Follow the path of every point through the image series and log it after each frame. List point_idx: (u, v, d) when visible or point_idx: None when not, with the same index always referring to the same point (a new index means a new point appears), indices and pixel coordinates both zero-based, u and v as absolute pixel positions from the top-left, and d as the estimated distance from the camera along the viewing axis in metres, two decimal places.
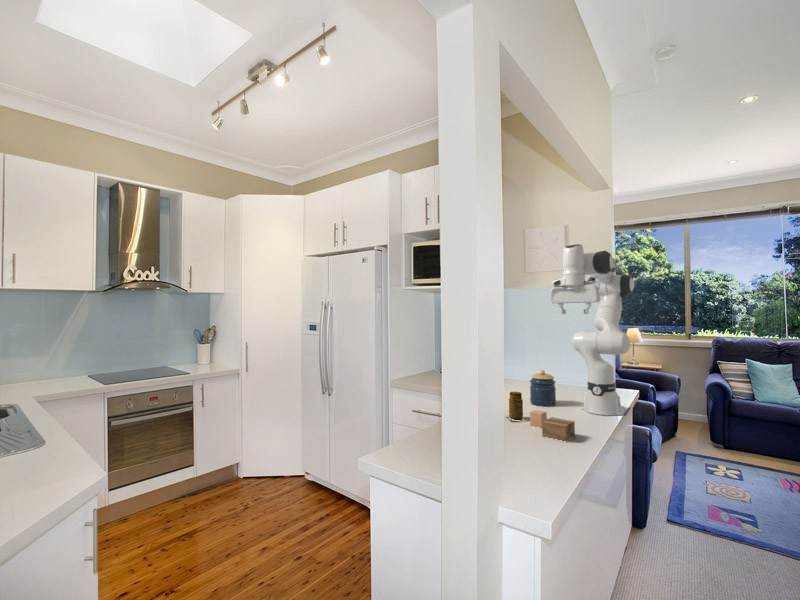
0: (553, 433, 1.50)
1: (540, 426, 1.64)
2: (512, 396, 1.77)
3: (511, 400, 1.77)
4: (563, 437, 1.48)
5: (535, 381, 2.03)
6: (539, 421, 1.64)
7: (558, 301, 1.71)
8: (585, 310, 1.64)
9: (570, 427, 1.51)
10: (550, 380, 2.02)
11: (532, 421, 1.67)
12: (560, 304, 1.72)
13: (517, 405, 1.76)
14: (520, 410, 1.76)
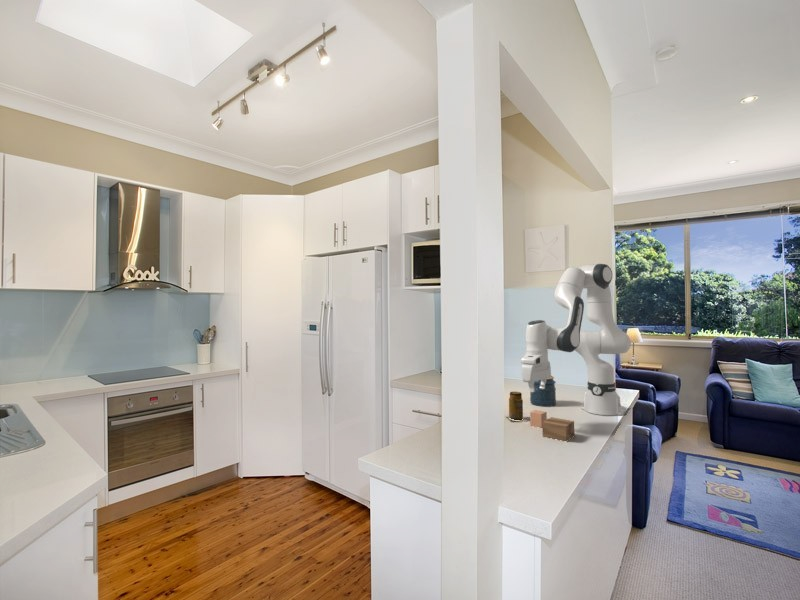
0: (553, 433, 1.50)
1: (540, 426, 1.64)
2: (512, 396, 1.77)
3: (511, 400, 1.77)
4: (563, 437, 1.47)
5: (535, 381, 2.03)
6: (539, 421, 1.64)
7: (534, 379, 1.62)
8: (544, 386, 1.70)
9: (570, 427, 1.51)
10: (550, 380, 2.02)
11: (532, 421, 1.67)
12: (533, 382, 1.63)
13: (517, 405, 1.76)
14: (520, 410, 1.76)
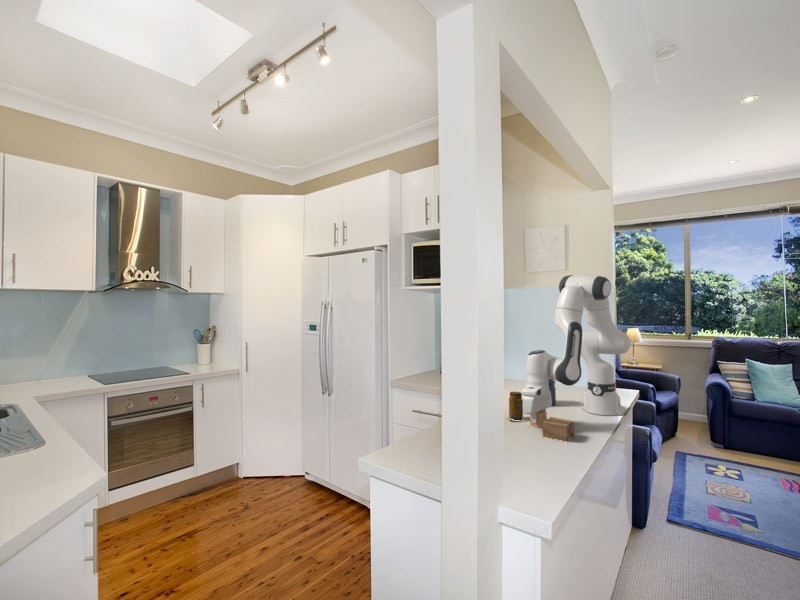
0: (553, 433, 1.50)
1: (540, 426, 1.64)
2: (512, 396, 1.77)
3: (511, 400, 1.77)
4: (564, 437, 1.47)
5: None
6: (539, 420, 1.64)
7: (535, 411, 1.62)
8: None
9: (570, 427, 1.51)
10: (550, 380, 2.02)
11: None
12: (536, 413, 1.64)
13: (517, 405, 1.76)
14: (520, 410, 1.76)
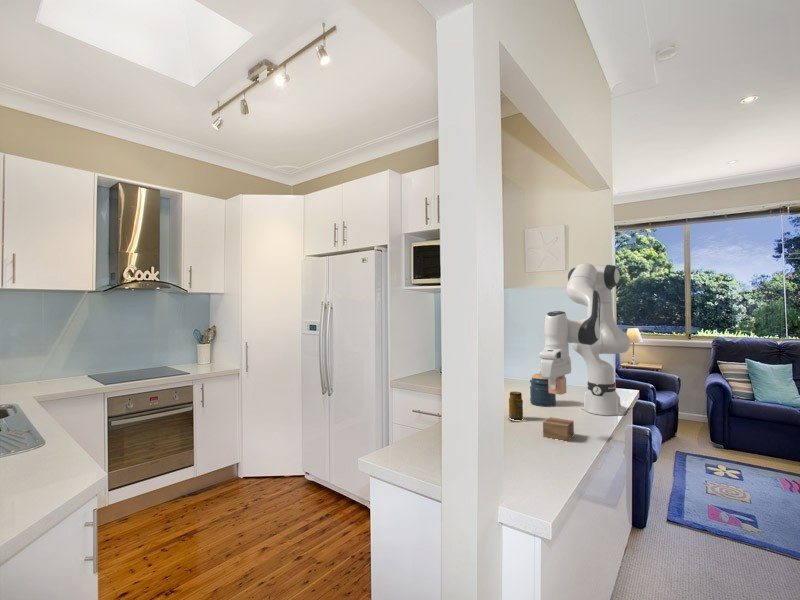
0: (554, 433, 1.50)
1: (560, 392, 1.51)
2: (512, 396, 1.77)
3: (511, 400, 1.77)
4: (565, 437, 1.47)
5: (535, 381, 2.03)
6: (559, 386, 1.51)
7: (555, 376, 1.48)
8: None
9: (570, 426, 1.51)
10: None
11: (550, 387, 1.53)
12: (555, 378, 1.50)
13: (517, 405, 1.76)
14: (520, 410, 1.76)
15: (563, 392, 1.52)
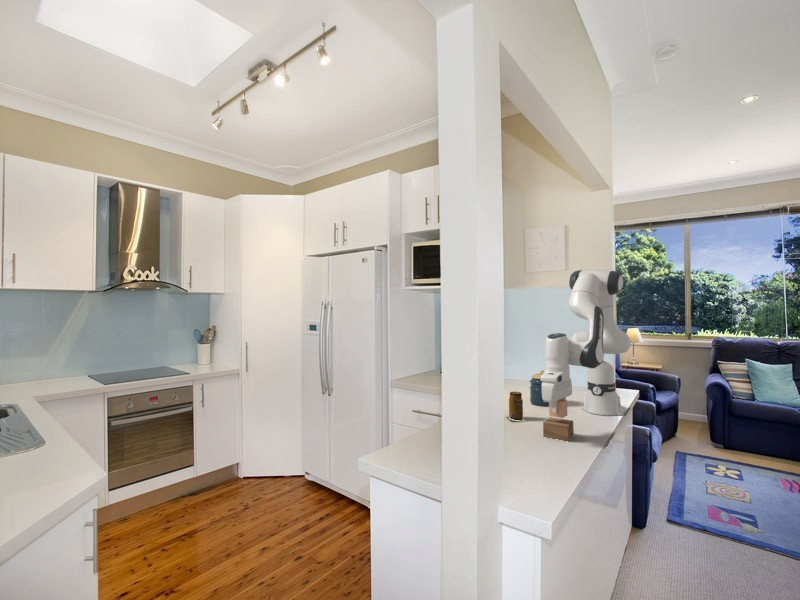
0: (554, 433, 1.50)
1: (560, 415, 1.50)
2: (512, 396, 1.77)
3: (511, 400, 1.77)
4: (565, 437, 1.47)
5: (535, 381, 2.03)
6: (560, 409, 1.50)
7: (556, 399, 1.48)
8: None
9: (570, 426, 1.51)
10: None
11: (551, 410, 1.53)
12: (556, 401, 1.50)
13: (517, 405, 1.76)
14: (520, 410, 1.76)
15: (564, 415, 1.51)
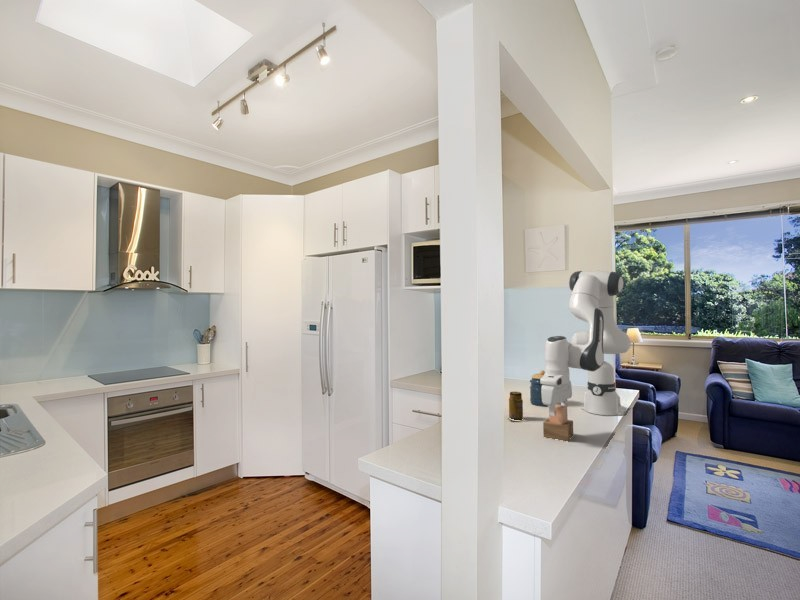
0: (554, 433, 1.50)
1: (560, 422, 1.50)
2: (512, 396, 1.77)
3: (511, 400, 1.77)
4: (565, 437, 1.47)
5: (535, 381, 2.03)
6: (560, 416, 1.50)
7: (555, 402, 1.48)
8: None
9: (570, 426, 1.51)
10: None
11: (551, 416, 1.53)
12: (554, 405, 1.49)
13: (517, 405, 1.76)
14: (520, 410, 1.76)
15: (564, 421, 1.51)
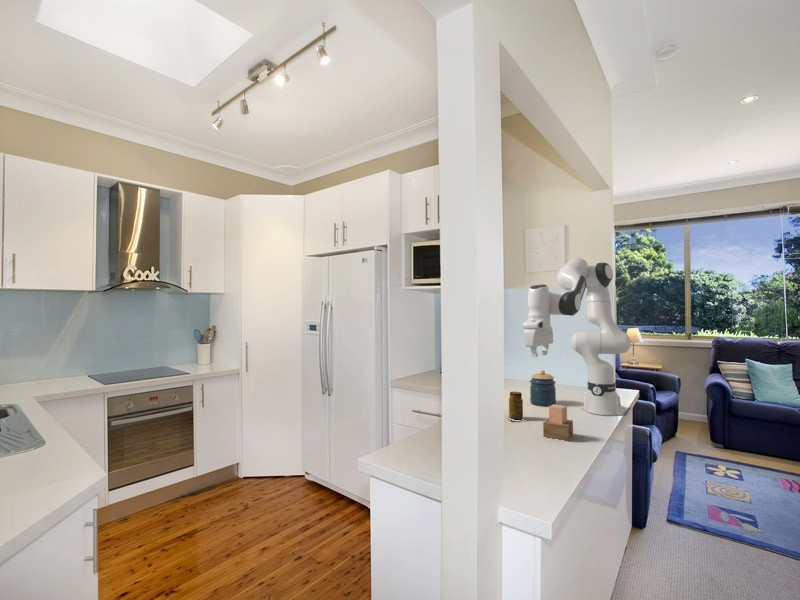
0: (554, 433, 1.50)
1: (560, 422, 1.50)
2: (512, 396, 1.77)
3: (511, 400, 1.77)
4: (565, 437, 1.48)
5: (535, 381, 2.03)
6: (560, 416, 1.50)
7: (537, 344, 1.58)
8: (546, 351, 1.67)
9: (570, 426, 1.51)
10: (550, 380, 2.02)
11: (551, 416, 1.52)
12: (536, 347, 1.59)
13: (517, 405, 1.76)
14: (520, 410, 1.76)
15: (564, 421, 1.51)
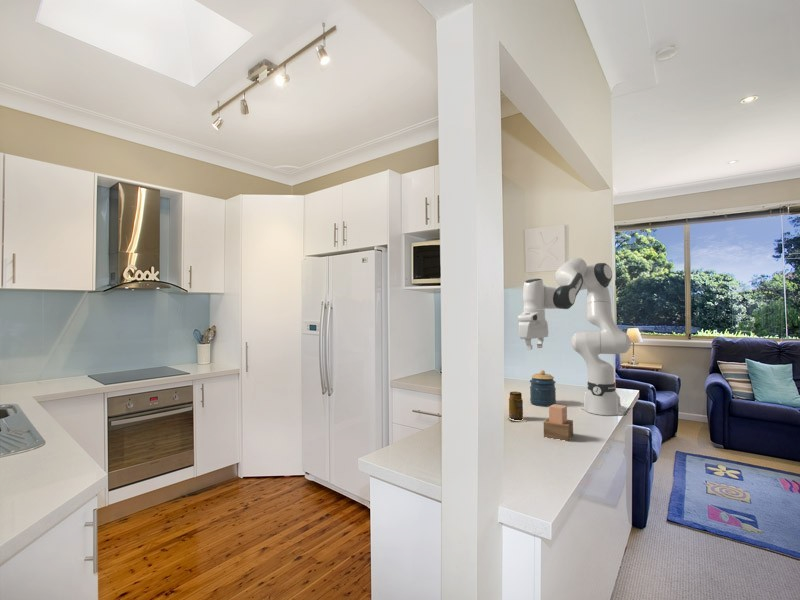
0: (555, 433, 1.50)
1: (560, 422, 1.50)
2: (512, 396, 1.77)
3: (511, 400, 1.77)
4: (566, 437, 1.48)
5: (535, 381, 2.03)
6: (560, 416, 1.50)
7: (531, 337, 1.61)
8: (541, 344, 1.70)
9: (570, 426, 1.52)
10: (550, 380, 2.02)
11: (551, 416, 1.53)
12: (530, 340, 1.62)
13: (517, 405, 1.76)
14: (520, 410, 1.76)
15: (564, 421, 1.51)
